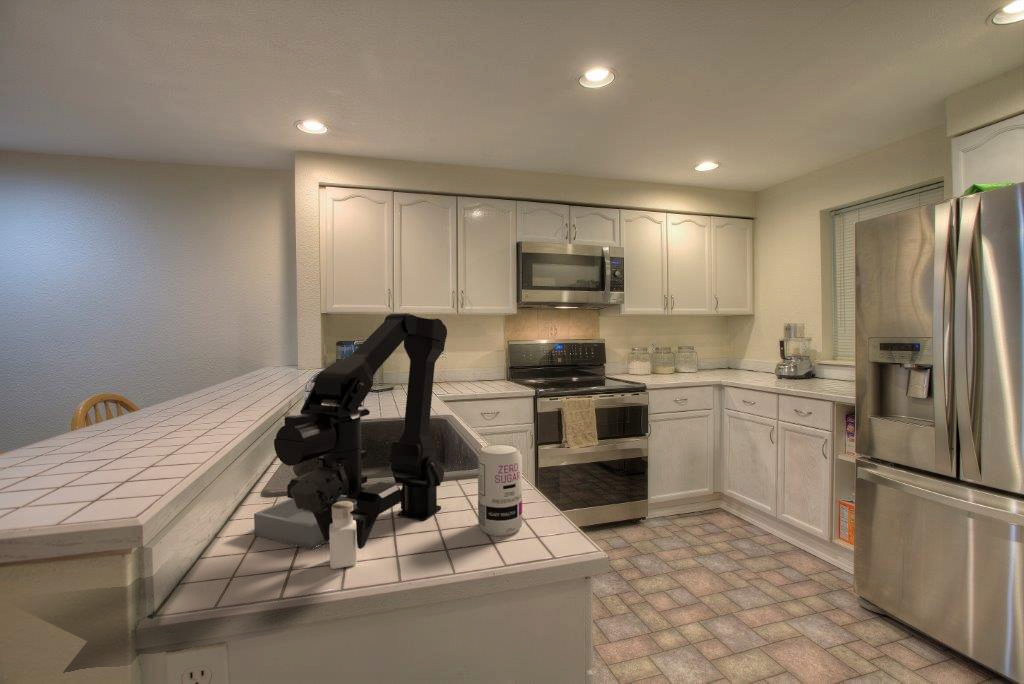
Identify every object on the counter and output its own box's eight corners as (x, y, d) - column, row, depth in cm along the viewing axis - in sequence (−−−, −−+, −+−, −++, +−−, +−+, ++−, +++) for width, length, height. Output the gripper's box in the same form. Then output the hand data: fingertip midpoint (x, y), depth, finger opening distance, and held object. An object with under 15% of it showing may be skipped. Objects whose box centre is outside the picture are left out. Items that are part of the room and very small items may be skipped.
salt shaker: (357, 566, 73) (356, 507, 73) (330, 571, 72) (328, 511, 71) (356, 554, 77) (355, 498, 76) (330, 559, 75) (329, 501, 75)
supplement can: (496, 515, 92) (495, 440, 92) (530, 525, 88) (530, 447, 87) (469, 530, 86) (468, 450, 85) (505, 542, 81) (504, 457, 80)
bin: (368, 517, 91) (367, 497, 91) (312, 549, 79) (311, 526, 78) (315, 507, 97) (314, 488, 97) (254, 535, 84) (254, 513, 84)
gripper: (255, 454, 70) (258, 555, 71) (352, 469, 63) (354, 582, 63) (313, 437, 80) (315, 526, 81) (402, 448, 73) (403, 545, 74)
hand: (344, 543), depth 74 cm, fingers open, 7 cm apart
